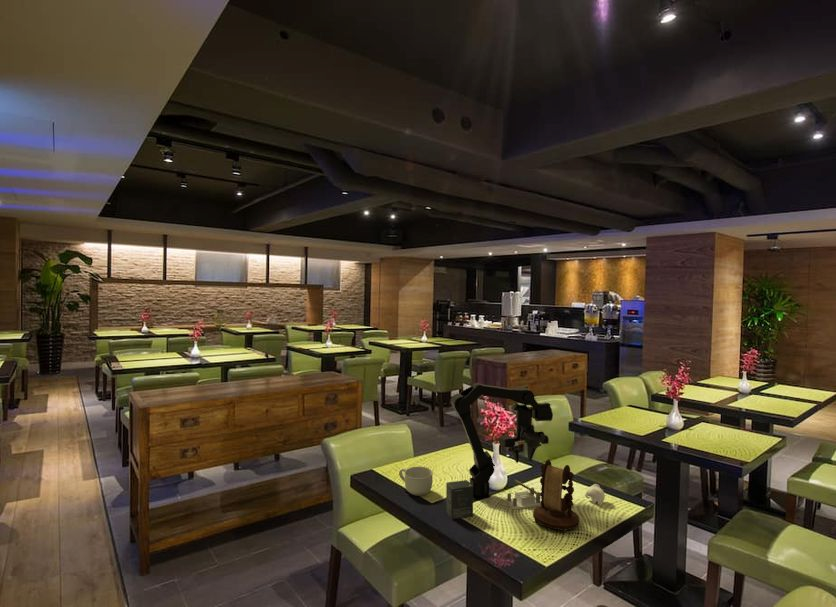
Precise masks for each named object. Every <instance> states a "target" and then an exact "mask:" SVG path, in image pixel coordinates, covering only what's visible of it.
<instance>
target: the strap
mask: <svg viewBox="0 0 836 607" xmlns="http://www.w3.org/2000/svg"><path fill="white" fill-rule="evenodd" d="M514 482H515V483H517V485H519V486H521V487H523V488H525V489H526V490H527V491H529V492H530V491H531V492H533V493H534V495H536V492H537V491H536V490H535V489H534V490H533V489H531V488H532V487H529V486H528V485H525V484H524V483H522V482H520V481H519V480H517V479H515V478H514Z"/></svg>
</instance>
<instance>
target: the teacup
mask: <svg viewBox="0 0 836 607" xmlns="http://www.w3.org/2000/svg"><path fill="white" fill-rule="evenodd" d="M403 472H404V474H403ZM398 475H399V478H400V479H401V480H402V482H404V485H405V486H404V487H405V489H406V491H407V492H408V493H409V494H410V495H412V496H418V497H419V496H424V495H426V494H428V493H429V492H430V491H431V490H432V488H433V475H434V472H433V470H432V469H430V468H429V467H426V466H418V465H417V466H412V467H409V468H401V469H399V471H398Z"/></svg>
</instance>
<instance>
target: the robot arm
mask: <svg viewBox="0 0 836 607" xmlns="http://www.w3.org/2000/svg"><path fill="white" fill-rule="evenodd" d="M481 396H486V397H491V398H492V397H493V398H498V399H507V400H511V401H514V402H515V403H514V404H512V405H511V410H514V411H516V421H515V422H514V426H515V428H516V429H515V431H516V432H514V436H515V437H512V436H510V434H508V435H507V434H504V435H500V436H499V437H498V444H499V445H501V446H503V447H504V448H509V449H510V451H511V453H512V456H513V459H514V461H515V463H517V464H519V462H520V461H519V456H520V454H519V450H520V448H521V447H520V446H519V444H520V443H525V444H526V448H527V449H526V450H527V459H528V462H532V460H533V458H534V455H535V452H536V450H537V449H538V448H539V447H541V446H542V445H546V444H549V442H550V440H549V439H550V438H549V436H548V435H546V434H545V432H544V431H535V426H534V424H533V419H534V421H535V422H551V421H553V417H554V414H553V410H552V408H551V403H549V402H540V403H539V402H537V400H536V399H535V393H534V392H533V391H532V390H530V389H528V388H526V387H524V386H518V387H517V386H515V387H502V386H495V385H489V384H483V383H479V382H475V383H473V384H472V385H471V386H469V387H467V388H465V389H464V390H462V391H460V392H459V393H455V394H453V395H452V397H451V399H450V404H451V407H452V408H453V409H454V411H455V412H456V415H458V418H459V419H460V421H461V424H462V426H463V429H464V432H465V435H466V437H467V439H468V442H469V445H470V448H471V450H472V453H473V454H472V455H473V462H474V464H473V465H472V466H470V468H469V469H468V472H469V475H470V476H471V477H469V483H471V484H472V485H473V500H481V499H488V498H491V495H490V479H491V477H492V475H493V474H494V473H495V467H496V464H495V463H494V462H493V458H492V455H491V454H490V453H489V451H488V450H484V447H483V444H482V443H481V439H480V437H479V434H478V432H477V430H476V426H475V423H474V422H473V419H472V418H473V417H472V410H471V406H472V405H473V404H474V403H475V402H476V401H477V400H478V399H479V397H481Z"/></svg>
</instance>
